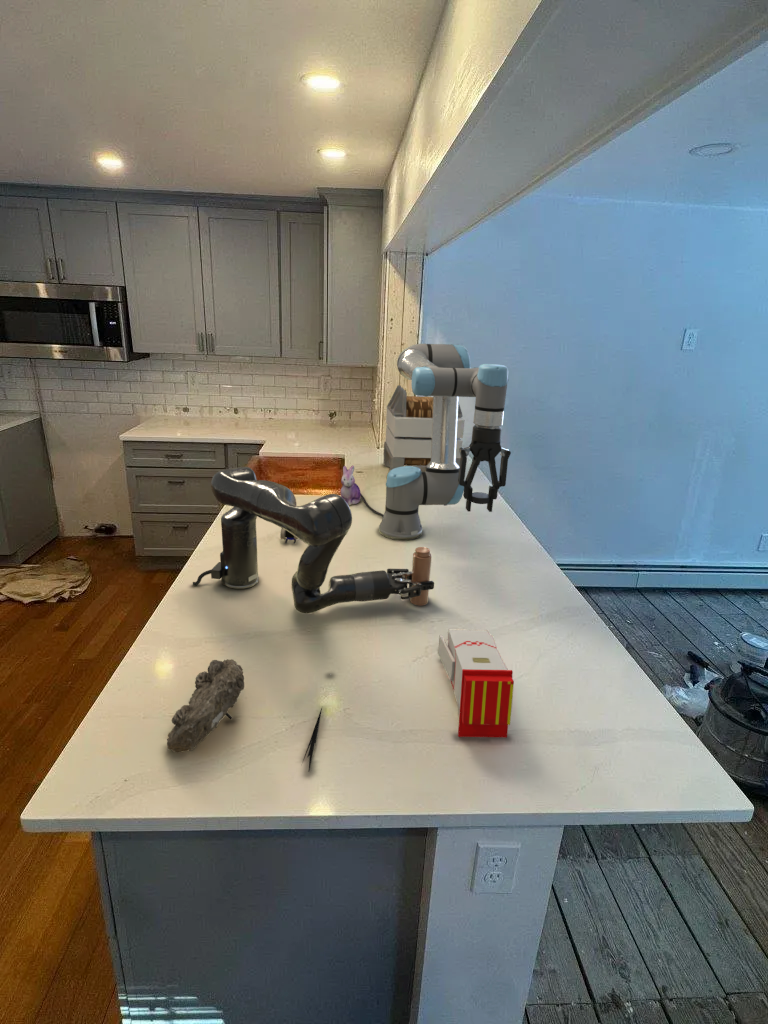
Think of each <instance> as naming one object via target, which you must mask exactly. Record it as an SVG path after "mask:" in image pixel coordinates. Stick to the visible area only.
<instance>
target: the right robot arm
mask: <svg viewBox="0 0 768 1024" xmlns="http://www.w3.org/2000/svg"><path fill="white" fill-rule="evenodd" d="M396 367H397V370H398V373H399V374H400V375H401V376H402V377H403V378H404V379H406V380H410V381H411V389H412V391H411V392H412V393H413V395H414V396H419V397H433V416H432V441H431V461H430V463H429V464H428V465H427V466H425V471H422V469H421V467H420V466H407V465H404V466H402V467H397V468H394V469H392V470H391V471H390V470H388V473H387V475H386V480H385V481H386V482H385V487H386V488H385V504H384V505H385V507H384V508H385V509H384V513H381V512H379V511H378V510H375V509H374V508H373V507H371V506H370V505H369V503H368V502H367V500H366V498H365V497H364V495H363V494H362V493H361V496H360V499H361V500H362V501H363V503H364V505H365V506H366V507H367V508H368V509H369V511H371V512H372V513H374V514H376V515H378V516H380V517H382V519H381V522H379V525H378V533H379V534H380V535H381V536H382V537H385V538H387V539H389V540H395V541H410V540H415V539H418V538H420V537H421V536H422V535H423V525H422V524H421V518H420V515H419V507H420V506H453V505H457V504H459V502H460V501H461V500H462V498H464V500H465V510H466V511H467V512H471V510H472V502H471V501H472V493H473V491H474V489H473V487H472V483H473V481H474V478H475V475H476V473H477V470H478V468H479V465H480V464H481V462H487V463H488V468H489V474H490V480H491V485H489V486H488V492H487V494H489V495H490V502H489V503H487V504H486V510H487V511H488V512H490V513H492V512H493V507H494V500H497V498H498V493H499V492H498V491H499V490H500V488H501V487H506V484H507V474H508V463H509V459H510V456H511V454H512V452H511V451H510V450H509V449H508V448H504V447H502V444H501V442H502V433H503V429H502V427H503V424H504V415H505V405H506V398H507V390H508V384H509V368H508V366H506V365H503V364H495V363H483V364H480V365H479V366H476V367H472V366H471V358H470V354H469V351H468V348H466V346H464V345H459V344H454V343H450V344H449V343H448V344H447V343H446V344H445V343H444V344H443V343H416V344H412V345H410V346H408V347H405V348H404V349H403V350H402V351H401V352H400V353H399V355H398V356H397V360H396ZM459 398H475V401H474V402H475V403H474V412H473V421H472V423H473V424H474V425H473V426H472V433H471V441H470V444H469V445H468V446H466V447H462V448H460V449H459V452H460V456H461V457H460V466H458V465H457V464H456V442H457V421H458V402H460V401H459ZM470 453H471V454H472V460H471V464H470V466H469V469H468V472H467V474H466V469H467V461H468V456H469V454H470ZM499 454H500V456H501V457H500V465H499V467H500V468H499V474H498V473H497V465H496V457H497V456H498V455H499ZM498 475H499V476H498Z"/></svg>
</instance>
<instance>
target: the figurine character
mask: <svg viewBox="0 0 768 1024" xmlns="http://www.w3.org/2000/svg"><path fill="white" fill-rule="evenodd" d="M279 537H280V540H284V544H288V541H293V544H294V545H295V544H296V543H297V540H299V539H298V538H297V537H295V536H294V535H293V534H291V533H290V532H288V531H287V530H285V529H283V528H280V535H279Z"/></svg>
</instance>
